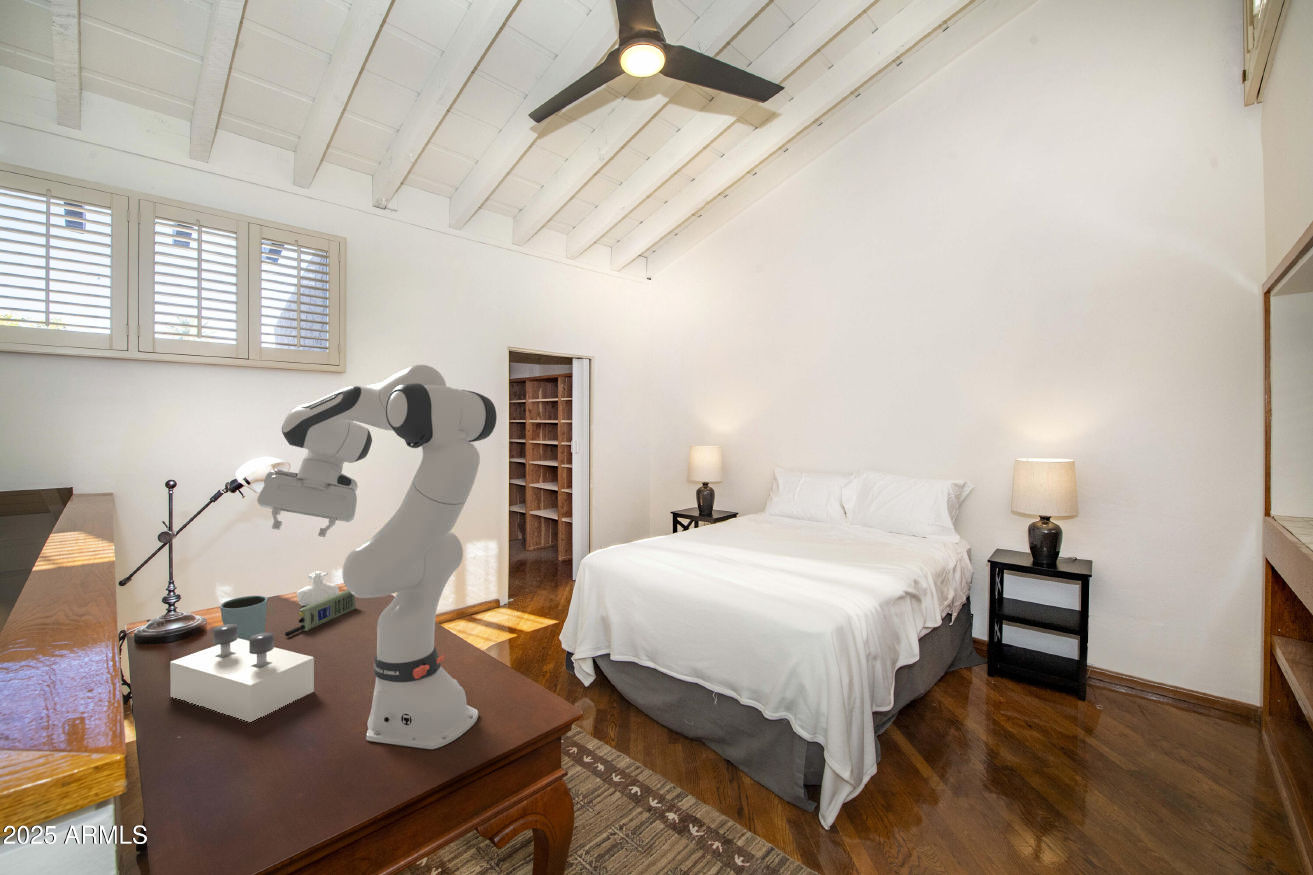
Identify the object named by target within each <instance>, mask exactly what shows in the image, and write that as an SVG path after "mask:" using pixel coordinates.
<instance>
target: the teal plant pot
mask: <svg viewBox="0 0 1313 875" xmlns="http://www.w3.org/2000/svg"><path fill="white" fill-rule="evenodd" d="M267 606H268V598H267V597H266V596H263V595H246V596H240V597H236V598H232V599H229V600H226V601H224V602H223V603H221V604H220V606H219V608H220V613H221V614H220V615H221V621H222V625H226V624H236V625H238V638H239V639H243V640H247V641H249V638H250V637H251V636H253V635H256V634H260V633H266V629H265V628H266V621H267V618H266V615H267Z"/></svg>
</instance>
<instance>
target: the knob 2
mask: <svg viewBox="0 0 1313 875" xmlns="http://www.w3.org/2000/svg"><path fill="white" fill-rule="evenodd" d="M274 642H275V634H274V633H273V632H265V633H260V634H256V635H253V636H251V637H250V638H249V653H250V654H257V668H259V669H260V668H262V667H264V666H267V652H269V651H271V650H273V648H274V647H275V643H274Z"/></svg>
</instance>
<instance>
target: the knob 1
mask: <svg viewBox="0 0 1313 875" xmlns="http://www.w3.org/2000/svg"><path fill="white" fill-rule="evenodd" d="M237 639H238V625H236V624H226V625H224V624H222V625H218V626H216V627H214V628H213V629H212V643H213V644H214V645H215V646H216V645H221V658H226V657H228V656H231V642H234V641H236V640H237Z"/></svg>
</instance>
